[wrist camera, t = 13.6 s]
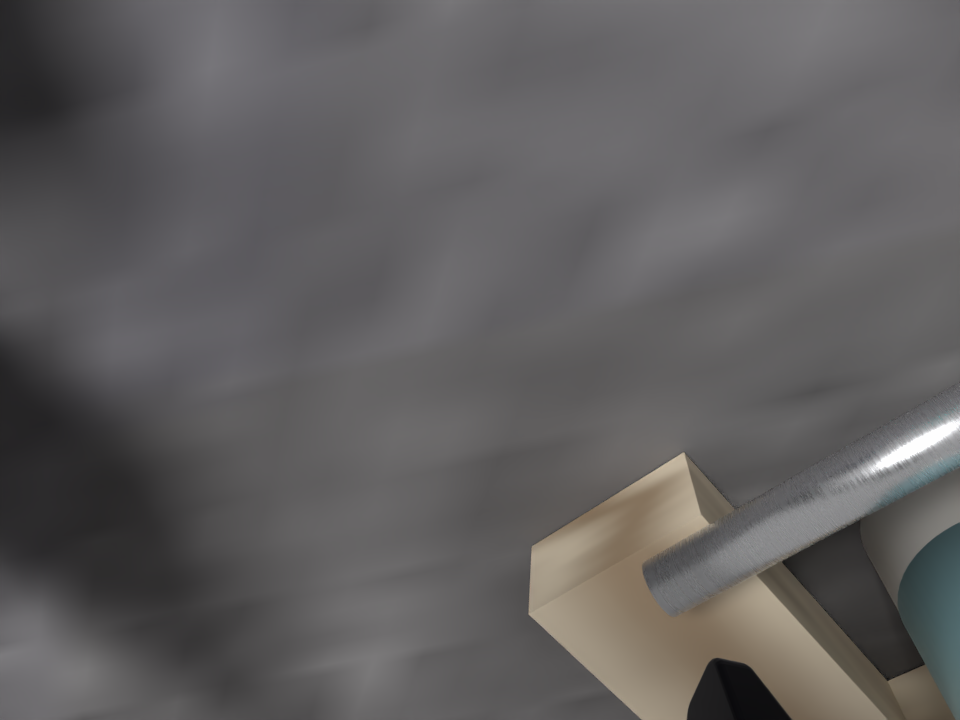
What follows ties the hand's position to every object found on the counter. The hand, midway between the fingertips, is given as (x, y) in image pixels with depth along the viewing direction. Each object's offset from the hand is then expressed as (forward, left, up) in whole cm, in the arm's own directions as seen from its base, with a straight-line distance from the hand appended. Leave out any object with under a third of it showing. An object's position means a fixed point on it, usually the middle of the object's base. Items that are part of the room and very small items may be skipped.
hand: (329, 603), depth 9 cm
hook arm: (+6, -10, -10) cm, 15 cm away
